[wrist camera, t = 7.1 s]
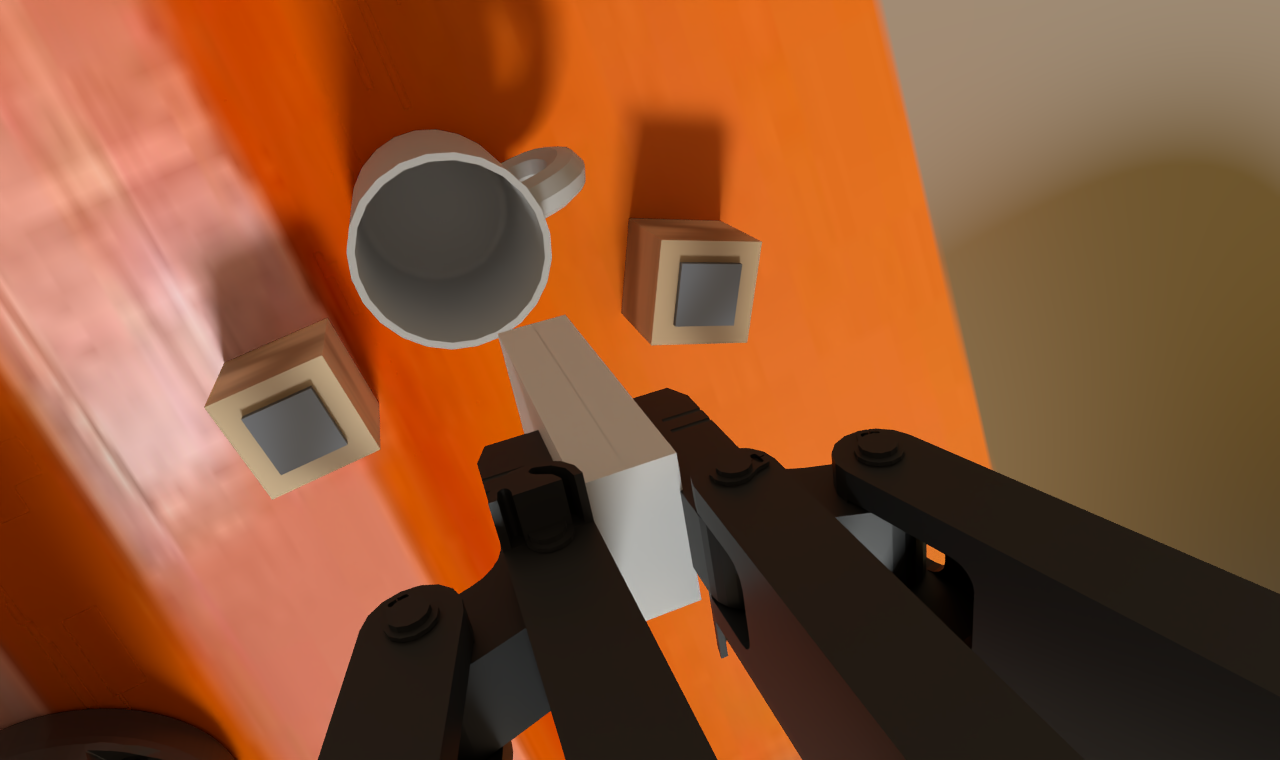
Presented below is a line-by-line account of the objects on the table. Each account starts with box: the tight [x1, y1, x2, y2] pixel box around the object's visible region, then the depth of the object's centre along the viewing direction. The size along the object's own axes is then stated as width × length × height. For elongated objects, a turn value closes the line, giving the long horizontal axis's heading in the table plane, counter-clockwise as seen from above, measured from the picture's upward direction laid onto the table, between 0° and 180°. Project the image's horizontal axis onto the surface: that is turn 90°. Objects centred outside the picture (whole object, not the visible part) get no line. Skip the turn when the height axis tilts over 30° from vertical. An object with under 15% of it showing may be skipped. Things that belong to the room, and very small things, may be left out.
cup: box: [347, 129, 585, 349], centre depth 32 cm, size 7×10×9 cm
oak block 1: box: [204, 318, 380, 500], centre depth 34 cm, size 5×5×5 cm
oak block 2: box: [621, 218, 762, 345], centre depth 38 cm, size 5×5×5 cm
